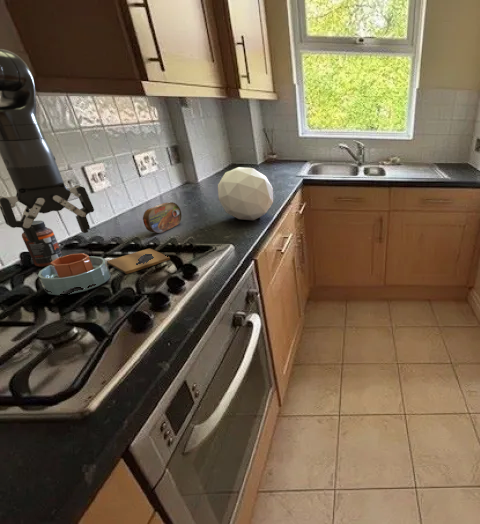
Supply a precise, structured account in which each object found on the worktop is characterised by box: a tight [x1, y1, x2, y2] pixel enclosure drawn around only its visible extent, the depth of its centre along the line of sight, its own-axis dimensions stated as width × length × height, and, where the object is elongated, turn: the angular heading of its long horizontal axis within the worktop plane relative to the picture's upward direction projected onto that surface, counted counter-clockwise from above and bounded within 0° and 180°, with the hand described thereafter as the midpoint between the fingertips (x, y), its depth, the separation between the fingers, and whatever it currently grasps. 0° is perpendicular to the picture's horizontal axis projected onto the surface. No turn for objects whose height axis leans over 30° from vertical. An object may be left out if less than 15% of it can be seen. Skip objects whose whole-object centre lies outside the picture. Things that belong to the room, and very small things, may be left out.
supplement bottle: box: [21, 220, 64, 268], centre depth 86 cm, size 6×6×11 cm
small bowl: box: [51, 253, 94, 278], centre depth 77 cm, size 6×6×6 cm
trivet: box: [106, 248, 171, 275], centre depth 90 cm, size 11×11×1 cm
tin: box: [142, 201, 182, 234], centre depth 113 cm, size 15×3×8 cm, turn 171°
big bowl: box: [37, 255, 111, 296], centre depth 78 cm, size 12×12×4 cm
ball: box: [217, 166, 274, 221], centre depth 123 cm, size 19×20×20 cm
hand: (61, 237), depth 74 cm, fingers open, 8 cm apart
